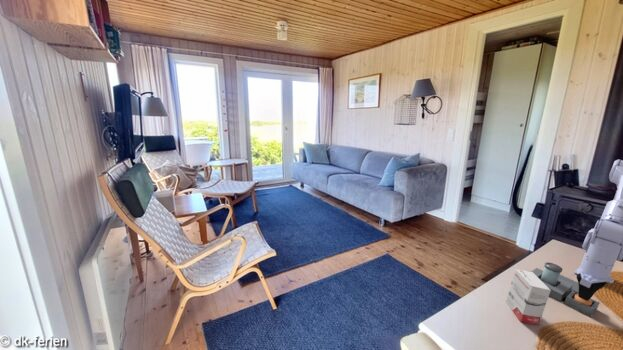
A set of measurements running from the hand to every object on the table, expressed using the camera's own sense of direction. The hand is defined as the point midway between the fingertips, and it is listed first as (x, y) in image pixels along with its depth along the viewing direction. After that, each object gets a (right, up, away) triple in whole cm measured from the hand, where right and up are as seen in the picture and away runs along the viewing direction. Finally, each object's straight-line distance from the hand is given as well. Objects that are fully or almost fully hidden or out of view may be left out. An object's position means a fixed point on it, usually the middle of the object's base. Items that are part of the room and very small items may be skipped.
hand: (583, 298), depth 79 cm
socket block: (-3, 0, +9) cm, 10 cm away
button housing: (0, -3, +1) cm, 3 cm away
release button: (0, -2, +1) cm, 2 cm away
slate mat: (+6, 0, +11) cm, 13 cm away
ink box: (-21, -3, -3) cm, 22 cm away
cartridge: (-3, 0, +9) cm, 10 cm away
